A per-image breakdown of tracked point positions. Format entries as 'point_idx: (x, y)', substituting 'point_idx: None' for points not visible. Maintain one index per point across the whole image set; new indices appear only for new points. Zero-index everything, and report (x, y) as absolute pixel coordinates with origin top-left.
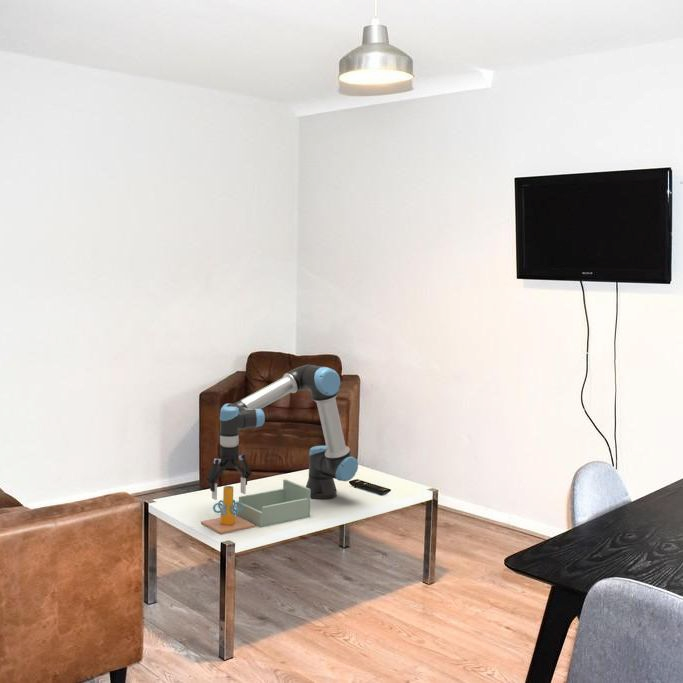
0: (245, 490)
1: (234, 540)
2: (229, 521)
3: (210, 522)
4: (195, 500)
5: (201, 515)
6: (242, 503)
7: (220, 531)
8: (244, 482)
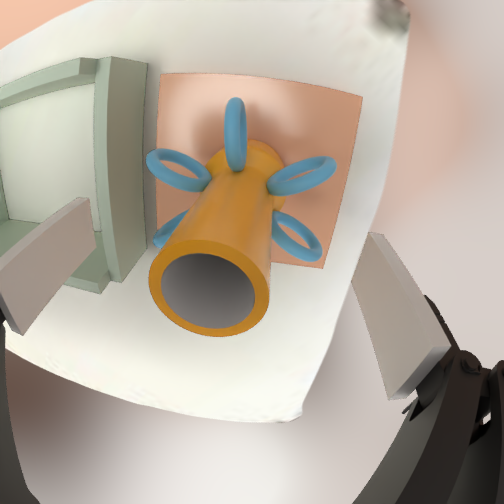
0: (62, 208)
1: (359, 7)
2: (263, 144)
3: None
4: (190, 392)
5: None
6: (107, 247)
7: (359, 104)
8: (19, 250)
